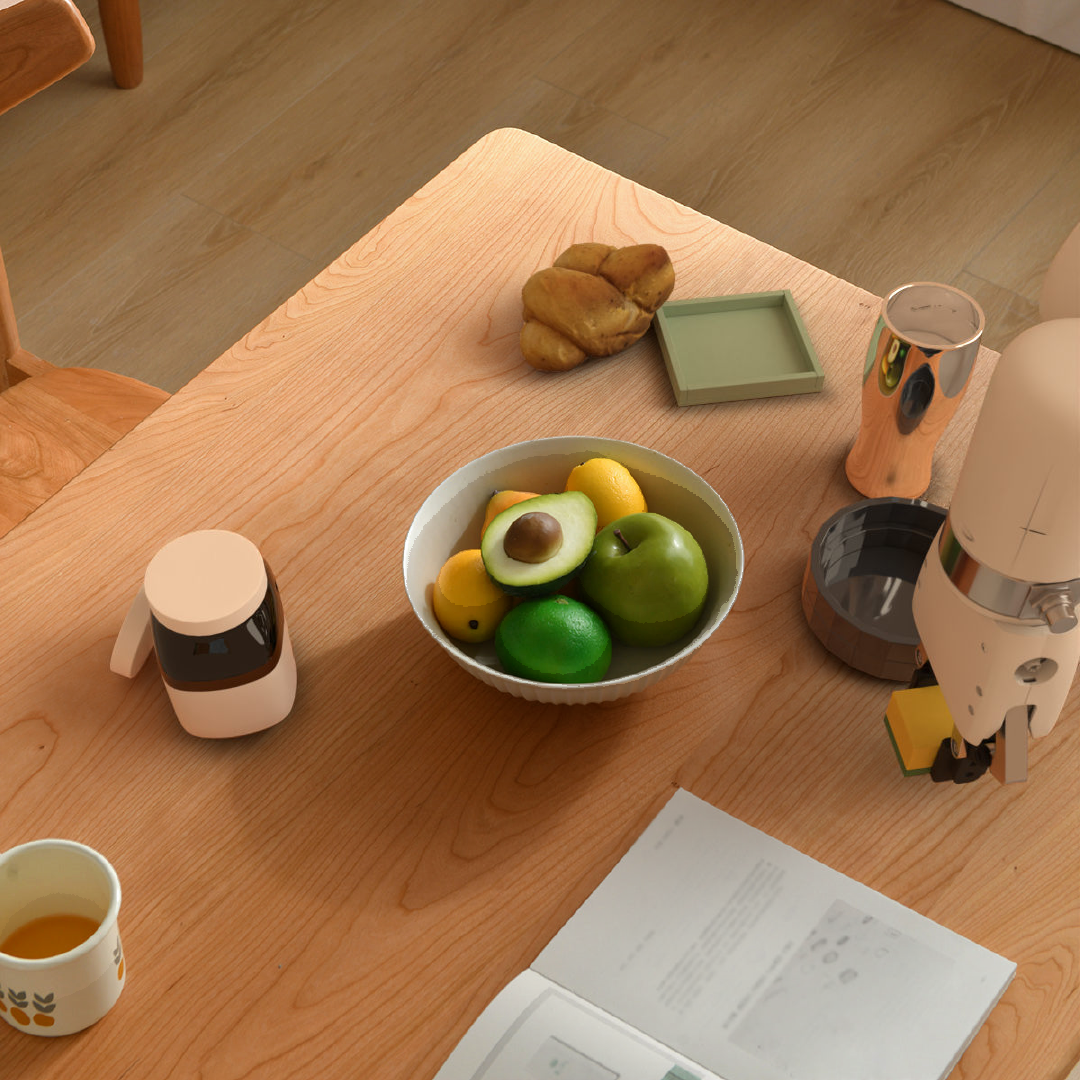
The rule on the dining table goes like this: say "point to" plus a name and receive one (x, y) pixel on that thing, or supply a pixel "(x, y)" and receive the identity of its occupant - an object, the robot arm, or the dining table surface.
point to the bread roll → (592, 303)
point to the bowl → (870, 582)
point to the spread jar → (213, 635)
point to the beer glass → (912, 385)
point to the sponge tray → (736, 348)
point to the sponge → (918, 727)
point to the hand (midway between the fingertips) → (943, 738)
